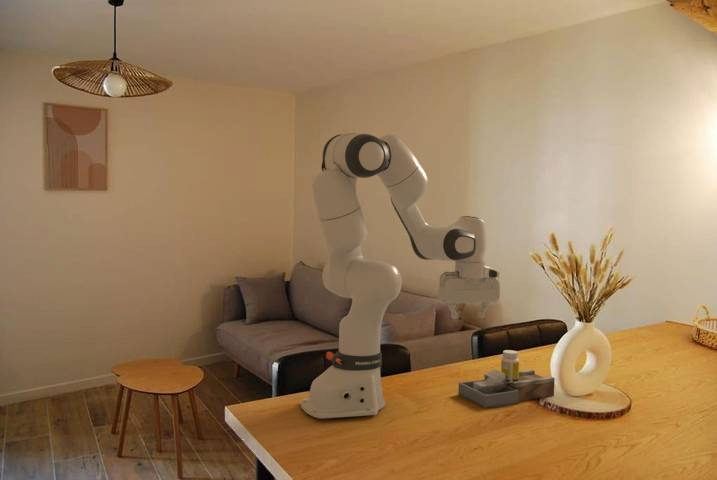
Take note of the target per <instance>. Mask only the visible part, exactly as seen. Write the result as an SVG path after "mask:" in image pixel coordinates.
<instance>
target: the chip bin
mask: <svg viewBox="0 0 717 480" xmlns="http://www.w3.org/2000/svg"><path fill="white" fill-rule="evenodd" d="M480 381H485V378H484V379H476V380H470V381H461V382H458V389H457V390H458V396H460V397H461V398H463V399H465V400H468V401H470V402H472V403H474V404H475V405H478V406H479V407H481V408H483V409H484V410H485V409H493V408H498V407H504V406H511V405H517V404H520V403H519V402H520V401H519V391H518V390H516V389H513V388H511V387H509V386H507V387H505V388H503V389H501V390H499V391H497V392H495V391H494V394H488V395H485V394H483V393H481V392H479V391H477V390H475V389H473V382H480Z"/></svg>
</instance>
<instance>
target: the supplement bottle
mask: <svg viewBox="0 0 717 480" xmlns="http://www.w3.org/2000/svg"><path fill="white" fill-rule="evenodd" d="M502 351H503V352H502V357H501V360H500V361H501V363H500V365H501V367H500V368H501V370H500V371H501V372H503V373H505V378H506V383H511V384H512V382H517V381H519V371H520V359H519V358H518V357H519V352H518V351H517V350H512V349H505V350H502Z"/></svg>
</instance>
